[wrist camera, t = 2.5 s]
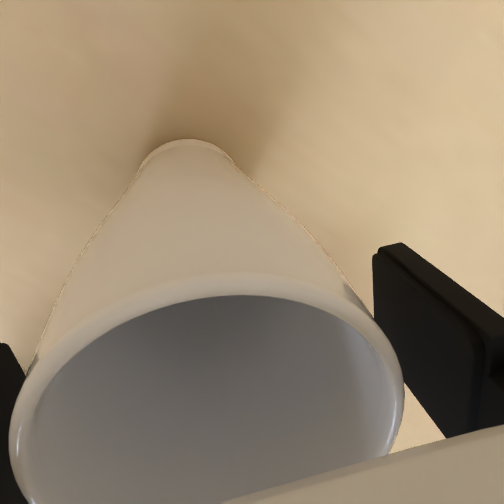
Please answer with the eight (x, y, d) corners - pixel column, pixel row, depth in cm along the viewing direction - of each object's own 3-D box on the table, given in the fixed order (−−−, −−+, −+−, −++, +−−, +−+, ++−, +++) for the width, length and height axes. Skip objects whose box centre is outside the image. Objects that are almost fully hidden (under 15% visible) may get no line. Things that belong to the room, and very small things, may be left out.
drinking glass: (211, 271, 22) (270, 589, 9) (94, 213, 20) (-70, 537, 6) (281, 168, 20) (487, 374, 7) (162, 90, 18) (132, 178, 4)
